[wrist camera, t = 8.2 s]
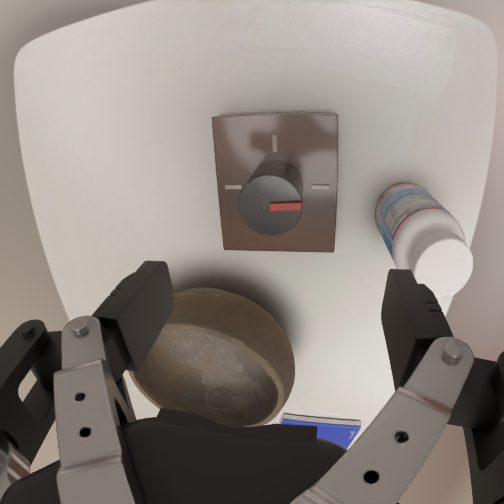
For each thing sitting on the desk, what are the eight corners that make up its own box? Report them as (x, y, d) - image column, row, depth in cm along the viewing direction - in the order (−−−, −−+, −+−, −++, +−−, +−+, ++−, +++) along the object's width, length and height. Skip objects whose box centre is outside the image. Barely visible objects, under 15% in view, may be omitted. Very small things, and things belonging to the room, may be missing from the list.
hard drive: (361, 427, 42) (282, 420, 43) (345, 450, 46) (275, 444, 47) (360, 419, 44) (283, 412, 45) (345, 443, 47) (276, 437, 49)
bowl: (130, 288, 38) (90, 341, 29) (262, 243, 32) (244, 303, 24) (198, 382, 44) (177, 437, 35) (316, 360, 39) (314, 426, 30)
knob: (252, 212, 28) (241, 238, 23) (247, 162, 26) (233, 178, 21) (304, 210, 27) (303, 236, 22) (301, 158, 25) (300, 174, 20)
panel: (220, 115, 27) (211, 117, 24) (334, 112, 25) (337, 114, 23) (230, 236, 32) (223, 250, 30) (332, 238, 31) (334, 253, 28)
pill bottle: (428, 240, 29) (470, 306, 19) (371, 240, 30) (396, 310, 20) (435, 182, 26) (491, 230, 17) (375, 179, 27) (410, 228, 18)
